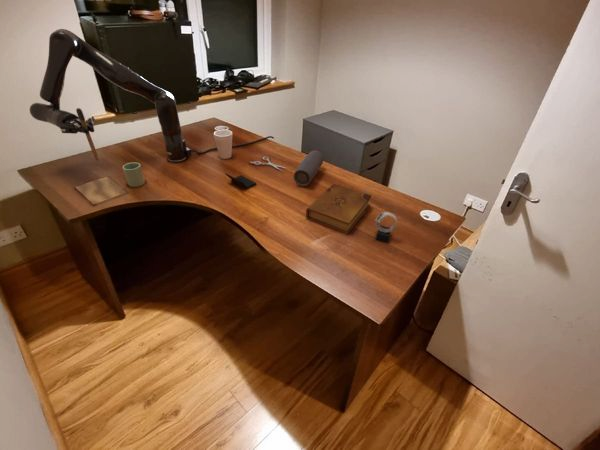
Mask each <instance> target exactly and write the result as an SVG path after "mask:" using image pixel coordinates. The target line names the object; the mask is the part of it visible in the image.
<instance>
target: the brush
mask: <svg viewBox="0 0 600 450" xmlns="http://www.w3.org/2000/svg"><path fill="white" fill-rule="evenodd" d="M75 111H76V115H77V116H78V117H79V120H80V122H81V124H82V127H85V128H87V129H88V127H87V124H86V121H85V120H86V117H85V115H84V112H83V110H82V108H80V107H77V108H76V109H75ZM88 131H89V130H88ZM84 134H85V136H86V139H87V142H88V144H89V148H90V150H91V153H92V155H93V158H94V160H95V162H99V161H100V158H99V155H98V152H97V149H96V147H95V144H94V142H93V141H94V140H93V139H92V136H91V132H90V131H89V134H86V133H84Z"/></svg>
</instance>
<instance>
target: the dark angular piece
mask: <svg viewBox="0 0 600 450" xmlns="http://www.w3.org/2000/svg"><path fill="white" fill-rule="evenodd" d="M225 175H226V176H227V177H228V178H229V179H230V180H231V182H232V183H234V184H236V185H239V186H240V187H242V188H244V189H246V190H248V189H251V188H252V187H254V186H256V185H257V182H255V181H253V180H251V179H249V178H247V177H245V176H244V175H241V174H240V175H238V176H236V177H234V176H233V175H231V174H228V173H225Z"/></svg>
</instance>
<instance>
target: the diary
mask: <svg viewBox="0 0 600 450" xmlns="http://www.w3.org/2000/svg"><path fill="white" fill-rule="evenodd" d="M371 198H372V195H371V194H368V193H365V192H362V191H358V190H355V189H353V188H349V187H346V186H342V185H340V184H336V183H333V184H331V185H330V186H329V187H328V188H327V189H325V190H324V192H323V193H322V194H320V196H319V197H318V198H317V199H316V200H314V202H312V203H311V204H310V205H309V206H308V207H307V208H306V210H305V211H306V212H305V218H306V219H307V220H308V221H311V222H313V223H315V224H318V225H321V226H324V227H326V228H329V229H332V230H334V231H337V232H339V233H343V234H345V235H349V233H350V232H351V231H352V230H353V228H354V227H355V226H356V224H357V223H358V222H359V221H360V219H361V218H362V217H363V215H364V214H365V213H366V212H367V210H368V209H369V208H370V207H371V204H370V203H369V202H370V200H371Z"/></svg>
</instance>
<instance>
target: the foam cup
mask: <svg viewBox="0 0 600 450" xmlns="http://www.w3.org/2000/svg"><path fill="white" fill-rule="evenodd" d="M233 135H234V134H233V131H232V130H229V129H218V130H215V131H214V132H213V139H214V141H215V146H216V148H217V149H216V150H217V152H218V156H219V158H220V159H223V160H226V159H230V158H232V156H233V155H232V153H233V147H232V146H233V137H234V136H233Z"/></svg>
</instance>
